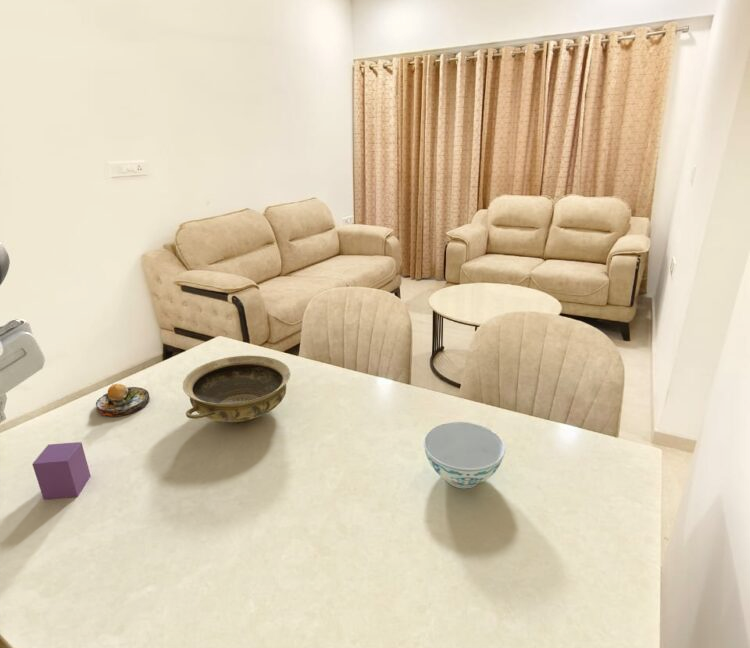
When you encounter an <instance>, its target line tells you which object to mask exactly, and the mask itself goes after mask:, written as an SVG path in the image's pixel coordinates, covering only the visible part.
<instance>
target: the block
mask: <svg viewBox="0 0 750 648" xmlns="http://www.w3.org/2000/svg"><path fill="white" fill-rule="evenodd" d="M31 465H32V468H33V471H34V473H35V477H36V480H37V483H38V486H39V490H40V493H41V496H42V499H43V501H45V500H56V499H66V498H67V499H68V498H78V496H79V495H80V494H81V492H82V491H83V489H84V487H85V486H86V484H87V483H88V481H89V479H90V478H91V477H92V475H91V472H90V468H89V464H88V461H87V457H86V453H85V450H84V446H83V443H82V441H74V442H63V443H49V444H47V445H46V447H45V448H44V449H43V450H42V451H41V452H40V454H39V455H38V456H37V458H36V459H35V460H34V461H33V463H32V464H31Z"/></svg>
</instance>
